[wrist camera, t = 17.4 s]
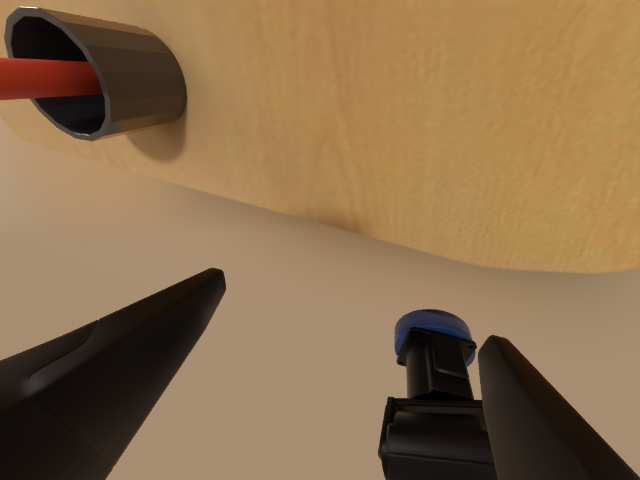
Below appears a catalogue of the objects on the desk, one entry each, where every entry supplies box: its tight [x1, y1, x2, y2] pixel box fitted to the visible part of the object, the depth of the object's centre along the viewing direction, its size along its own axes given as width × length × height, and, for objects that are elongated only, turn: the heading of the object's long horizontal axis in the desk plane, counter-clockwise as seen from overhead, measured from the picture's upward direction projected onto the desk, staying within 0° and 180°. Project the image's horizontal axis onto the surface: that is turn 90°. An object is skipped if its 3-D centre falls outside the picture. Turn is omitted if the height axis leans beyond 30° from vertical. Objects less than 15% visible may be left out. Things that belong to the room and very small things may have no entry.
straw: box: [0, 58, 103, 100], centre depth 14 cm, size 2×2×9 cm
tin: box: [4, 6, 186, 141], centre depth 16 cm, size 6×6×6 cm
